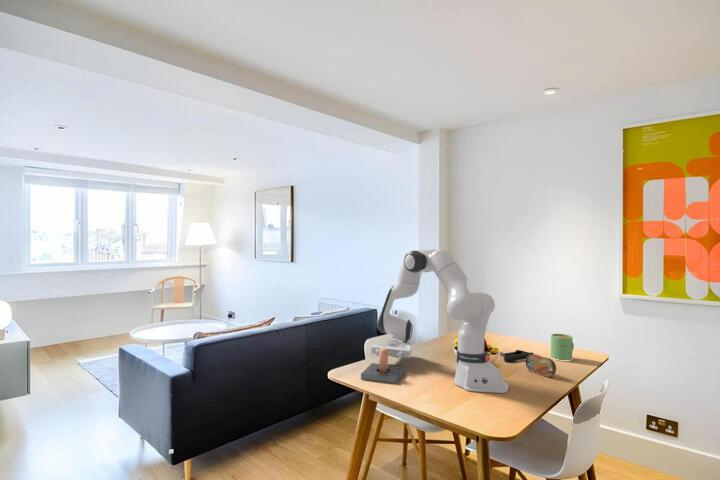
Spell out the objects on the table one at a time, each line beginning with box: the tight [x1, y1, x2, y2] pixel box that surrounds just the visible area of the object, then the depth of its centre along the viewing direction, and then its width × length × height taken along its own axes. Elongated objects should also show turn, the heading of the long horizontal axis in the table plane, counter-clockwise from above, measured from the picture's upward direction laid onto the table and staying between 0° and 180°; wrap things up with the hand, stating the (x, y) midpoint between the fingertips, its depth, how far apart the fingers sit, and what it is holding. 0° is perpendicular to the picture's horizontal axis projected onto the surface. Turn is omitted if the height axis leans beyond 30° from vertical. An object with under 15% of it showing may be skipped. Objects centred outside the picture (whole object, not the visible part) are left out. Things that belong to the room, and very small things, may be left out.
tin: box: [525, 353, 557, 378], centre depth 185 cm, size 15×3×8 cm, turn 27°
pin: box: [378, 348, 389, 373], centre depth 180 cm, size 4×4×12 cm
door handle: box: [499, 349, 535, 363], centre depth 211 cm, size 3×20×16 cm
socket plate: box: [360, 362, 406, 385], centre depth 180 cm, size 16×16×2 cm
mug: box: [550, 333, 575, 360], centre depth 209 cm, size 13×10×12 cm
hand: (387, 355), depth 186 cm, fingers open, 8 cm apart
